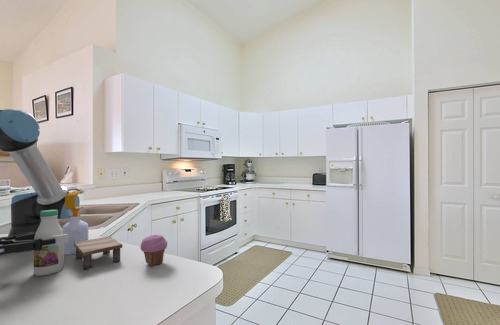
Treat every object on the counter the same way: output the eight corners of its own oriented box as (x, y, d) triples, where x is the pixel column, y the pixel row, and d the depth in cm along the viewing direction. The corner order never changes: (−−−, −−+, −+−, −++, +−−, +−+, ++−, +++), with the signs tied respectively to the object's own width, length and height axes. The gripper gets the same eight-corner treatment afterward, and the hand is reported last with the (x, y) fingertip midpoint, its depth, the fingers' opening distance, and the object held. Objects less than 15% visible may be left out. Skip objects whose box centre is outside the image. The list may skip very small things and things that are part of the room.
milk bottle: (45, 267, 84) (45, 208, 85) (69, 266, 85) (69, 208, 86) (26, 277, 77) (27, 212, 77) (53, 275, 77) (53, 212, 78)
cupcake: (170, 264, 85) (170, 235, 86) (144, 271, 80) (144, 240, 80) (162, 257, 92) (162, 230, 93) (137, 262, 87) (137, 234, 87)
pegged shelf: (73, 258, 92) (74, 242, 92) (109, 250, 101) (109, 236, 101) (83, 270, 81) (83, 252, 81) (122, 260, 89) (122, 244, 89)
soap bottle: (93, 247, 105) (93, 190, 105) (76, 255, 96) (76, 192, 96) (74, 247, 106) (74, 190, 106) (55, 254, 97) (55, 192, 97)
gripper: (-30, 255, 76) (60, 239, 92) (-40, 277, 61) (71, 253, 76) (-30, 230, 77) (60, 219, 92) (-40, 246, 61) (71, 229, 76)
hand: (65, 235), depth 84 cm, fingers open, 10 cm apart
